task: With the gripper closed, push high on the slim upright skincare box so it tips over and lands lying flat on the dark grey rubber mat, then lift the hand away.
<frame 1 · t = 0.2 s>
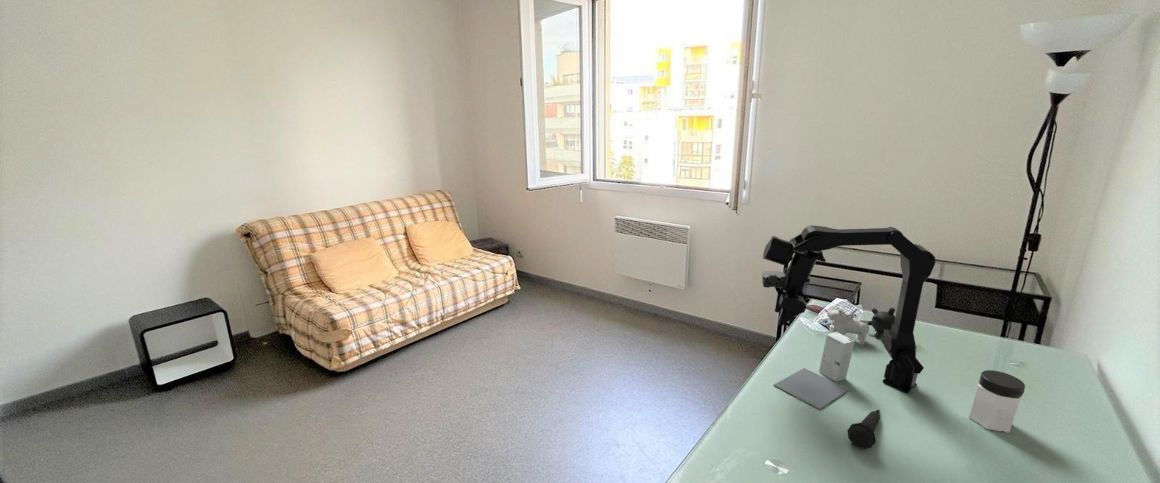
hand: (778, 318, 138), 15 cm above the table, tool pointing down, fingers open, 9 cm apart
mat: (811, 388, 131), on the table
microphone: (870, 433, 114), on the table
jar: (989, 422, 119), on the table
toy ball: (882, 336, 161), on the table
dog figurine: (845, 339, 159), on the table
skincare box: (832, 375, 138), on the table
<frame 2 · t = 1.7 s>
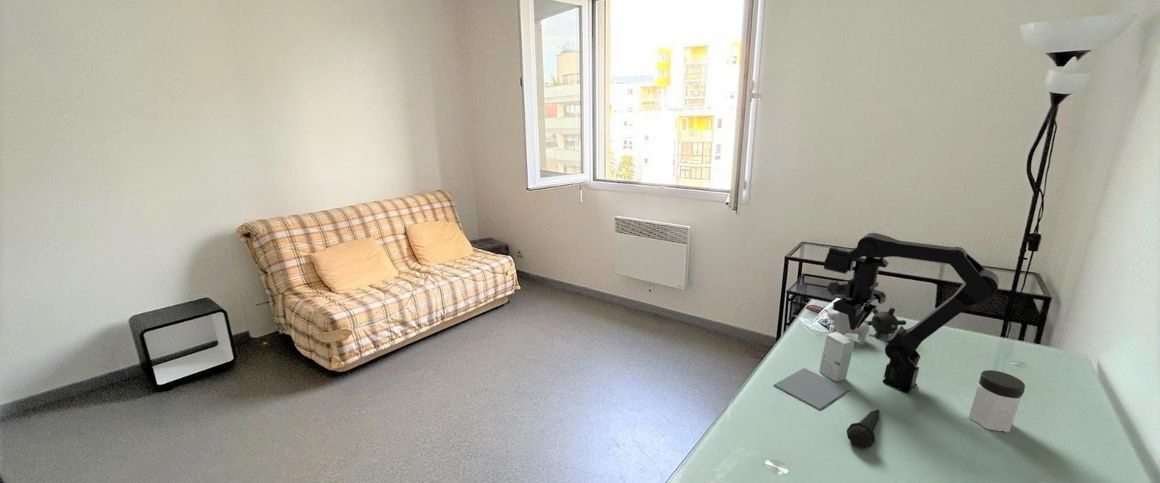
hand: (854, 328, 139), 13 cm above the table, tool pointing down, fingers closed
nothing on the table moved.
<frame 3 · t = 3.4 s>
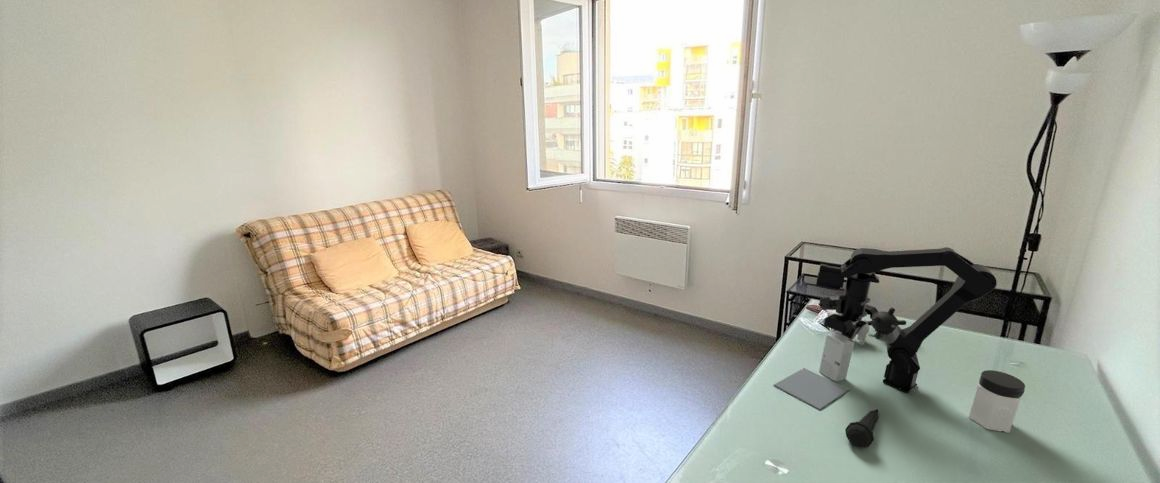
hand: (846, 343, 138), 9 cm above the table, tool pointing down, fingers closed
skincare box: (832, 375, 138), on the table, touching gripper
everything else where it was.
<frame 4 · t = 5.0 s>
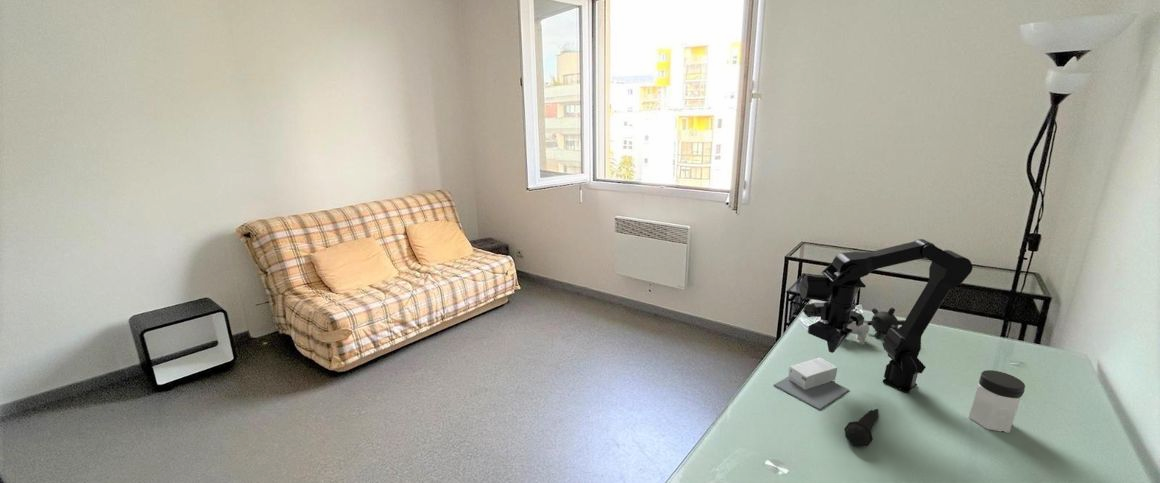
hand: (831, 352, 133), 9 cm above the table, tool pointing down, fingers closed
skincare box: (829, 368, 136), point 3 cm above the table, touching mat
everything else where it was.
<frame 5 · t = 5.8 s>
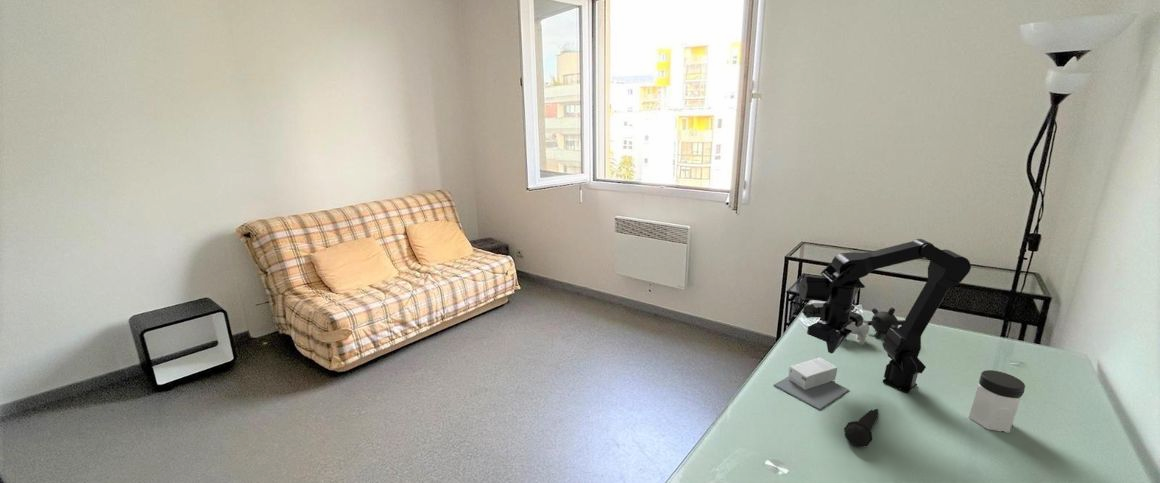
hand: (830, 352, 133), 8 cm above the table, tool pointing down, fingers closed
nothing on the table moved.
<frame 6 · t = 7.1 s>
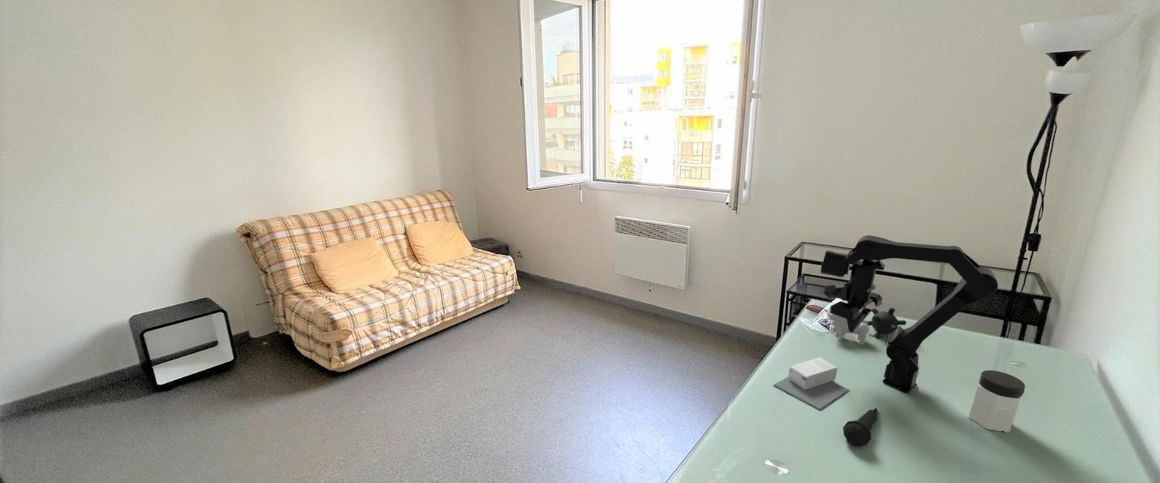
hand: (851, 331, 138), 12 cm above the table, tool pointing down, fingers closed
nothing on the table moved.
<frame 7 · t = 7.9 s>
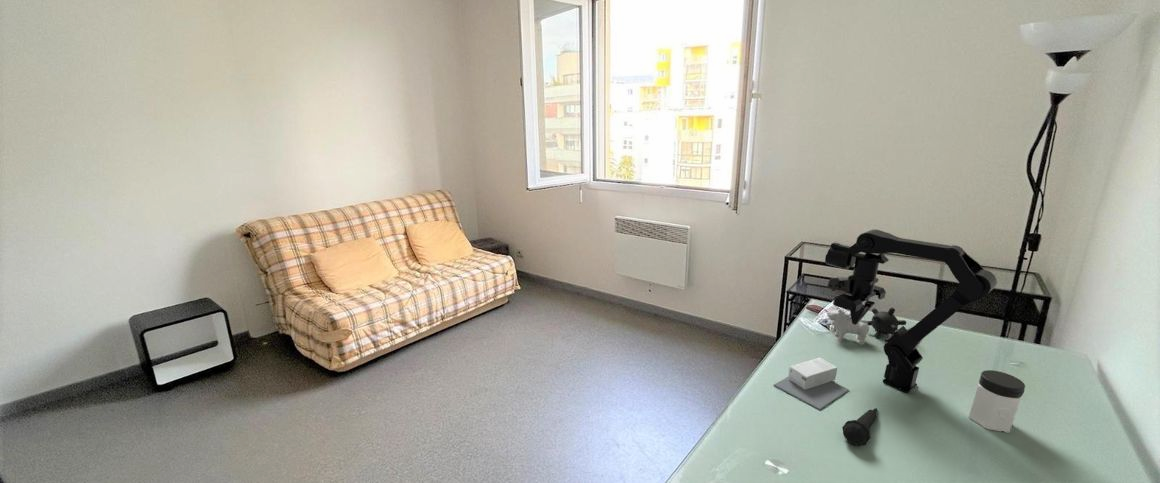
hand: (854, 323, 140), 13 cm above the table, tool pointing down, fingers closed
nothing on the table moved.
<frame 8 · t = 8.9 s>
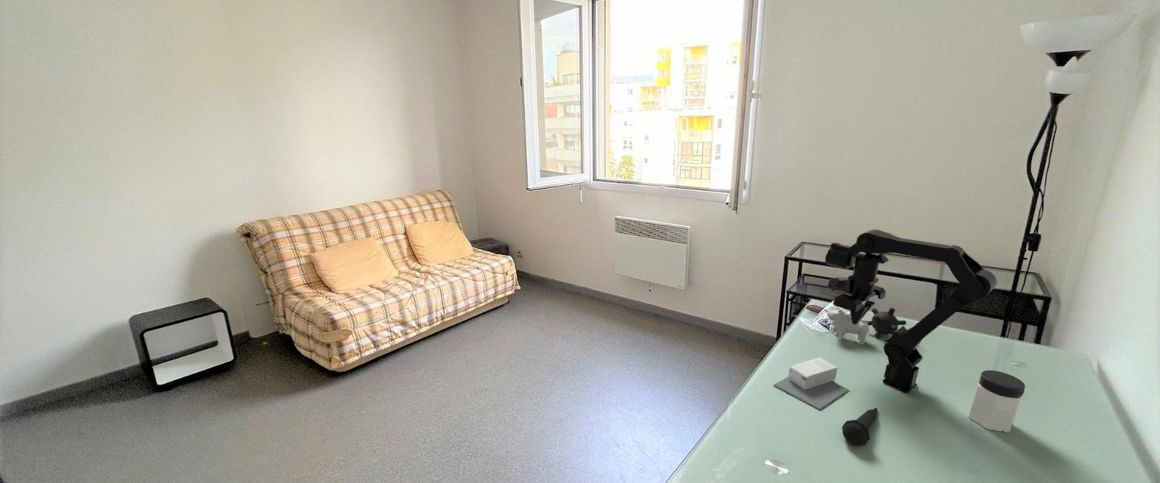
hand: (854, 323, 140), 13 cm above the table, tool pointing down, fingers closed
at the end: skincare box tilted 92°; skincare box inside the target area (9.0 cm from its centre), point 2.8 cm above the table; skincare box moved 3.5 cm from its start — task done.
